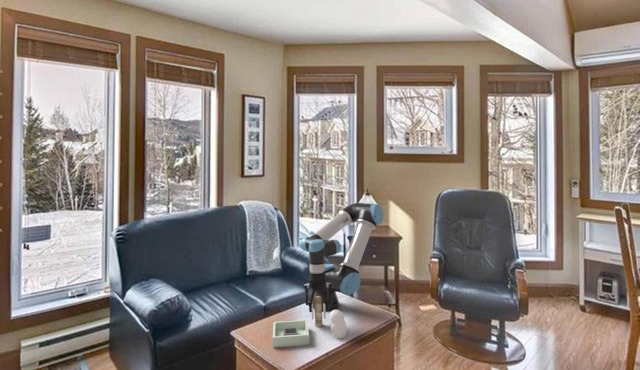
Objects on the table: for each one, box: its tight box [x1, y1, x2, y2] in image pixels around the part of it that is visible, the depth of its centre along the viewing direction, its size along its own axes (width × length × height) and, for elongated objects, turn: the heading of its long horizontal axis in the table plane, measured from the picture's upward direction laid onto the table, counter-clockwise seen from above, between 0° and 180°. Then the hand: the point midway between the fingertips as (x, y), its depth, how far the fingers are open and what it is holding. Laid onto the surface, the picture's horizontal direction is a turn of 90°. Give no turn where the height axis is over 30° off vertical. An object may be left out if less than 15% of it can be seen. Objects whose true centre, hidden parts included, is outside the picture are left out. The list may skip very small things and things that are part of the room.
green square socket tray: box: [272, 319, 310, 349], centre depth 168 cm, size 16×16×4 cm
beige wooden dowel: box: [314, 296, 323, 328], centre depth 180 cm, size 4×4×14 cm
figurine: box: [329, 309, 347, 339], centre depth 169 cm, size 7×8×12 cm
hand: (318, 317), depth 180 cm, fingers open, 5 cm apart
